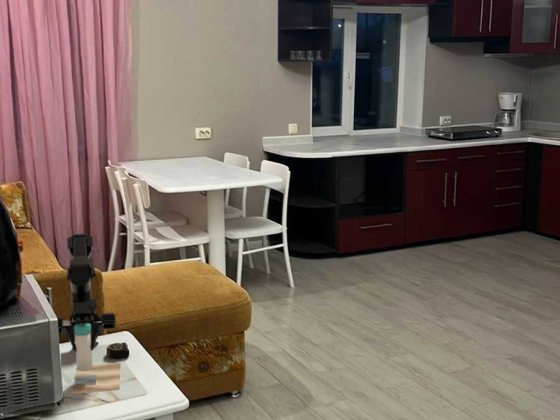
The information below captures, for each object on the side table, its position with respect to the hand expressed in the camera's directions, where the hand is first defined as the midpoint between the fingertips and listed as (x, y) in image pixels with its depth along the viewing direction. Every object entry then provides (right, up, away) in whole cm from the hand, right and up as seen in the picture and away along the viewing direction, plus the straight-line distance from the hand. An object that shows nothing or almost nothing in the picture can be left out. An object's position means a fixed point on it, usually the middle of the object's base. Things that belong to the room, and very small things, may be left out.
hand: (83, 350), depth 195 cm
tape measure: (+5, -7, +22) cm, 23 cm away
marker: (0, -6, +3) cm, 6 cm away
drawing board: (+3, -10, +6) cm, 11 cm away
